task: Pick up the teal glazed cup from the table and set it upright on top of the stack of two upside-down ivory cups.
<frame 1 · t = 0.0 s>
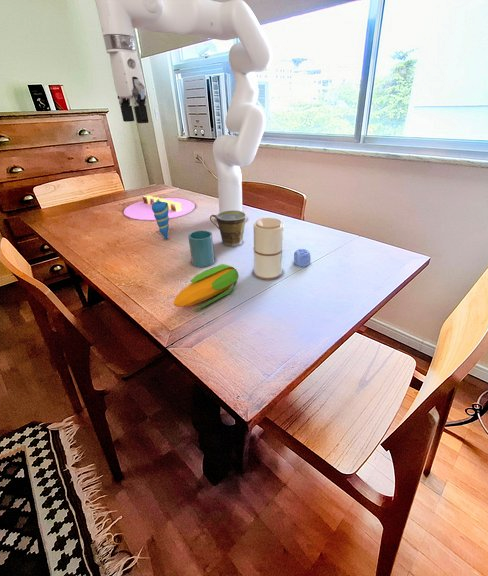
hand: (135, 122, 86), 37 cm above the table, tool pointing down, fingers open, 9 cm apart
ceramic cup: (228, 242, 105), on the table
teal cup: (203, 261, 93), on the table
platter: (160, 208, 138), on the table
cup stack: (267, 272, 87), on the table
ornament: (165, 239, 107), on the table
corn: (209, 299, 76), on the table
decorative dice: (301, 263, 92), on the table
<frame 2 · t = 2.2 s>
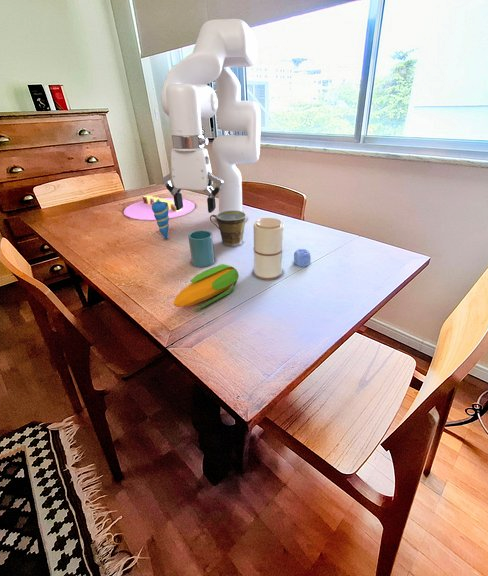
hand: (195, 210, 84), 16 cm above the table, tool pointing down, fingers open, 9 cm apart
nothing on the table moved.
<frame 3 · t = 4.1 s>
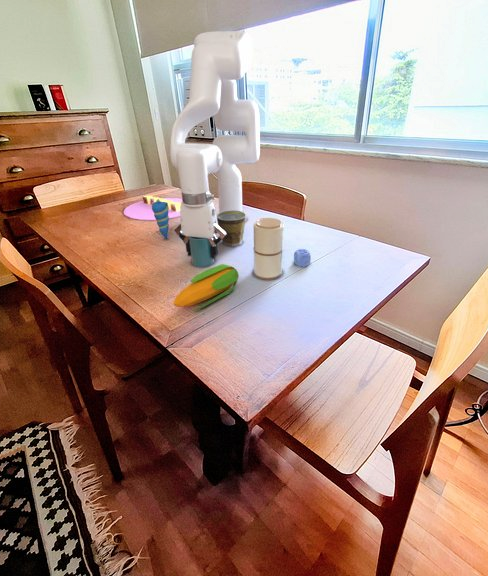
hand: (202, 255, 91), 2 cm above the table, tool pointing down, fingers closed on teal cup, 7 cm apart
teal cup: (203, 261, 93), on the table, touching gripper
everything else where it was.
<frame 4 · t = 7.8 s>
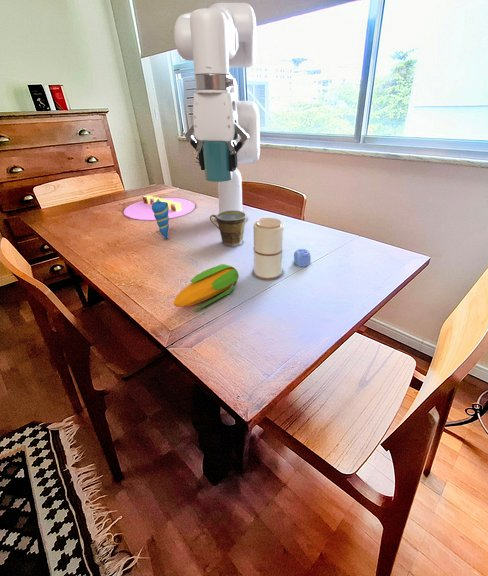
hand: (218, 169, 75), 28 cm above the table, tool pointing down, fingers closed on teal cup, 7 cm apart
teal cup: (219, 178, 77), point 26 cm above the table, touching gripper
everything else where it was.
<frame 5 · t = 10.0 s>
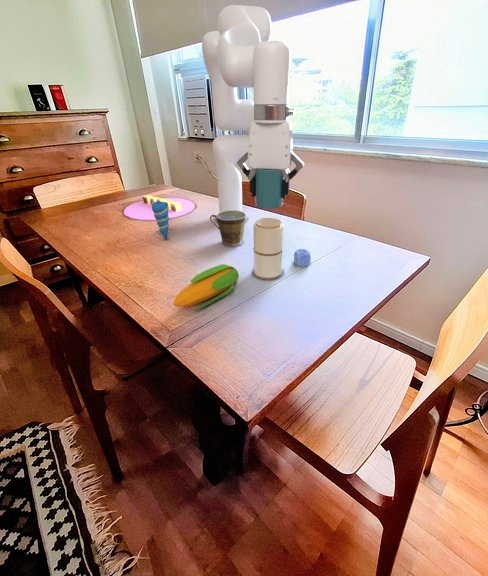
hand: (269, 195, 75), 22 cm above the table, tool pointing down, fingers closed on teal cup, 7 cm apart
teal cup: (269, 204, 76), point 20 cm above the table, touching gripper
everything else where it was.
when the fingers open (18 cm above the table, at t = 11.7 s): teal cup stays where it is, resting on cup stack.
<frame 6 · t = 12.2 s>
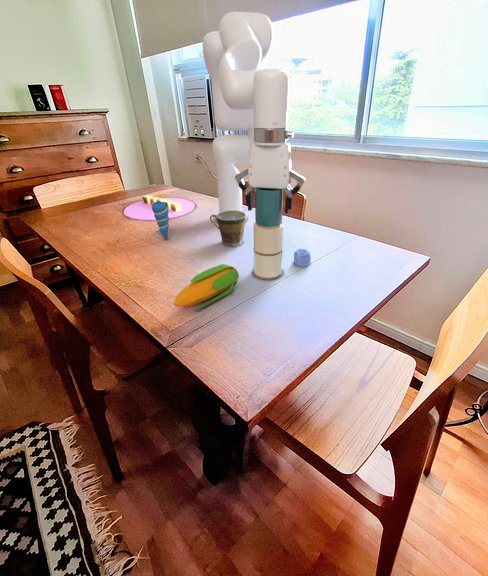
hand: (268, 210, 77), 19 cm above the table, tool pointing down, fingers open, 9 cm apart
teal cup: (268, 222, 78), point 15 cm above the table, touching cup stack
everything else where it was.
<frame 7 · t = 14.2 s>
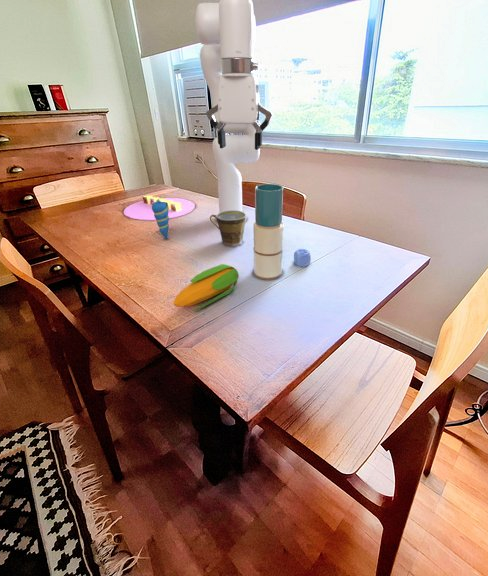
hand: (239, 148, 80), 32 cm above the table, tool pointing down, fingers open, 9 cm apart
nothing on the table moved.
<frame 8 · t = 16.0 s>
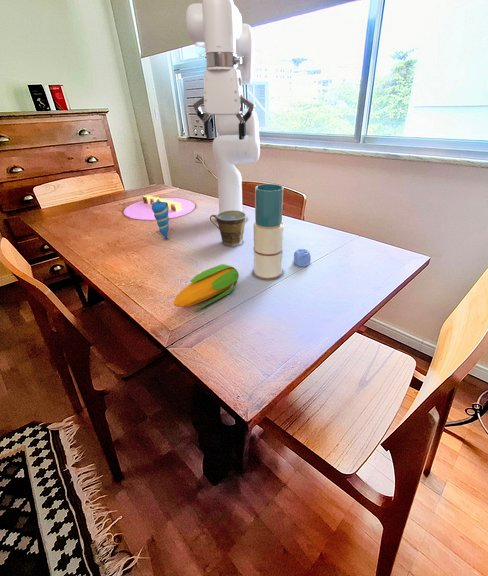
hand: (225, 138, 84), 33 cm above the table, tool pointing down, fingers open, 9 cm apart
nothing on the table moved.
at the end: teal cup 0.1 cm off-centre on the cup stack, point 15.4 cm above the cup stack's base; teal cup tilted 0°; the gripper is holding nothing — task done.
